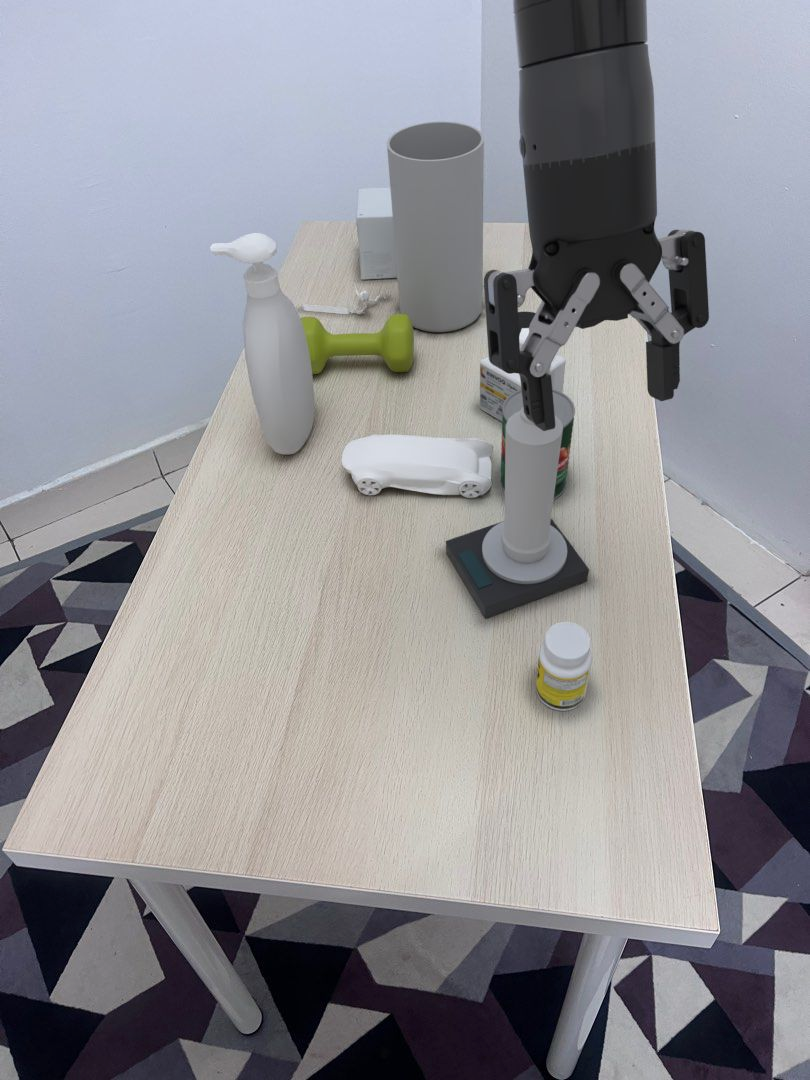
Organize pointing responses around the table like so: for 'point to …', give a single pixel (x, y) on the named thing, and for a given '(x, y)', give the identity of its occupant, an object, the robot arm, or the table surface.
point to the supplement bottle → (564, 666)
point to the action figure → (340, 310)
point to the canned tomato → (566, 414)
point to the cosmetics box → (376, 233)
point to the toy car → (420, 464)
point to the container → (512, 375)
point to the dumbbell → (362, 343)
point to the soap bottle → (273, 348)
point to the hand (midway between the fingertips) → (603, 412)
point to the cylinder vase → (438, 222)
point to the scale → (512, 569)
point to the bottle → (529, 486)
